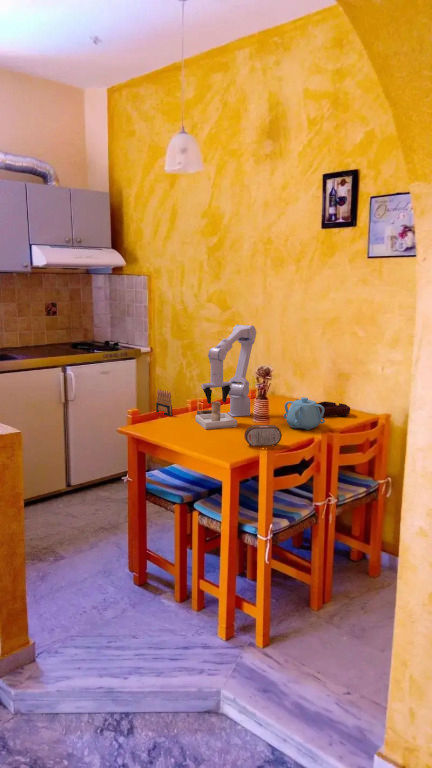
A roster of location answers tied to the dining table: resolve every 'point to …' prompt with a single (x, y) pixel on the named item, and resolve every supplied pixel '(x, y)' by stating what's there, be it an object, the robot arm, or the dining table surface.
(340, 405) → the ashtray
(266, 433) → the tin
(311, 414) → the decorative pot
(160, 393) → the ammunition clip
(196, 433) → the dining table surface
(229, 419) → the tray
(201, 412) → the frame
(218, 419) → the dowel
